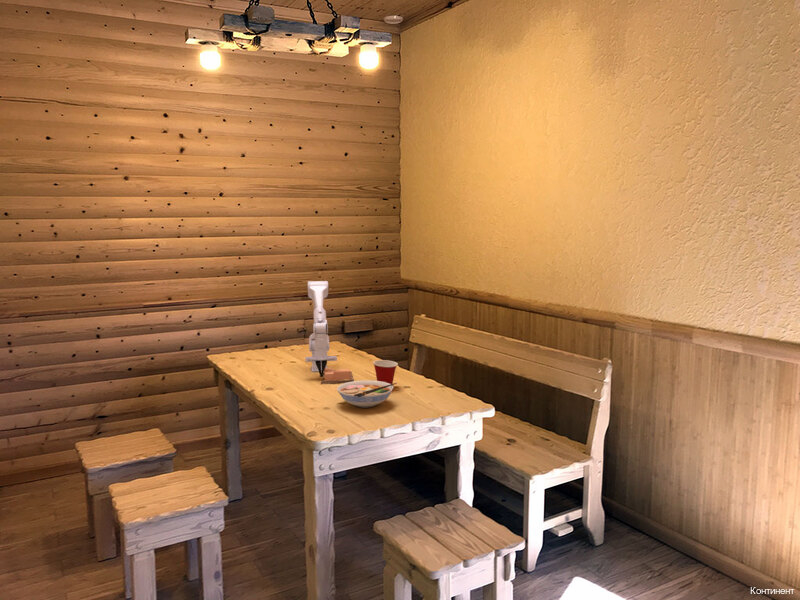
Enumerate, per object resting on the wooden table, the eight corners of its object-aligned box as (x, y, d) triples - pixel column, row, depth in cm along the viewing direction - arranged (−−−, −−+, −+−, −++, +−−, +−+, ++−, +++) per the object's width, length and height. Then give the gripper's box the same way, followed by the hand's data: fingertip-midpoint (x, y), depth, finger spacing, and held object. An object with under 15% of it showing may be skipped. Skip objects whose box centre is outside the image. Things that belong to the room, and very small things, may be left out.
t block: (324, 376, 312) (324, 368, 311) (349, 375, 313) (349, 367, 313) (325, 382, 300) (324, 374, 299) (351, 381, 302) (351, 373, 301)
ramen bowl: (365, 393, 282) (365, 375, 280) (407, 403, 267) (406, 383, 266) (323, 407, 262) (322, 387, 261) (365, 418, 248) (365, 397, 247)
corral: (320, 374, 314) (320, 372, 314) (351, 373, 316) (351, 371, 316) (320, 384, 297) (320, 381, 297) (354, 382, 299) (354, 380, 299)
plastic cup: (395, 392, 283) (395, 365, 281) (370, 391, 285) (370, 364, 283) (400, 386, 293) (400, 360, 291) (376, 385, 295) (376, 359, 294)
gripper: (305, 350, 299) (305, 379, 300) (337, 349, 301) (337, 377, 303) (305, 346, 306) (305, 375, 307) (336, 345, 308) (336, 374, 309)
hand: (321, 376), depth 305 cm, fingers closed
